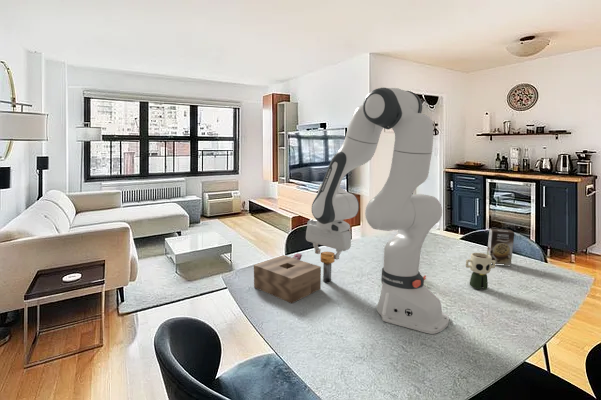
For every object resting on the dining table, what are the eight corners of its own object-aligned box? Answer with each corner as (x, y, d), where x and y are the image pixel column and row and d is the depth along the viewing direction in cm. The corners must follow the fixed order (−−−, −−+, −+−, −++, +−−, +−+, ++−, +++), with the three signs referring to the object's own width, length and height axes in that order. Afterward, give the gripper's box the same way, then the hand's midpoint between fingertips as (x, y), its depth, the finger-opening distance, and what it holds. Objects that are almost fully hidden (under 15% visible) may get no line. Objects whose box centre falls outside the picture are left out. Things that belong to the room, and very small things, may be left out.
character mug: (467, 290, 129) (470, 257, 127) (460, 283, 136) (462, 252, 134) (497, 291, 128) (500, 258, 126) (488, 284, 135) (491, 252, 133)
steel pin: (336, 280, 138) (337, 253, 136) (328, 285, 134) (328, 257, 132) (325, 277, 142) (326, 250, 140) (317, 281, 138) (317, 253, 136)
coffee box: (488, 264, 157) (492, 231, 155) (485, 260, 164) (489, 227, 161) (511, 267, 155) (515, 232, 152) (507, 262, 161) (510, 229, 158)
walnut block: (320, 289, 130) (320, 266, 128) (291, 303, 118) (291, 278, 117) (283, 275, 143) (283, 255, 142) (254, 287, 131) (253, 264, 130)
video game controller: (293, 273, 150) (300, 260, 148) (284, 268, 150) (291, 255, 149) (298, 265, 160) (304, 253, 158) (289, 261, 160) (296, 248, 158)
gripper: (302, 219, 138) (302, 252, 141) (344, 228, 125) (342, 264, 127) (312, 217, 143) (312, 248, 146) (353, 225, 130) (352, 260, 132)
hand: (326, 256), depth 136 cm, fingers open, 8 cm apart
